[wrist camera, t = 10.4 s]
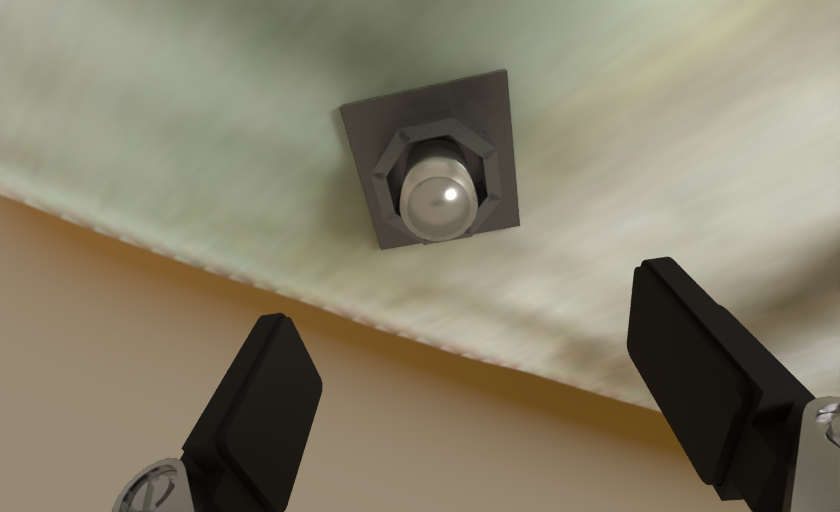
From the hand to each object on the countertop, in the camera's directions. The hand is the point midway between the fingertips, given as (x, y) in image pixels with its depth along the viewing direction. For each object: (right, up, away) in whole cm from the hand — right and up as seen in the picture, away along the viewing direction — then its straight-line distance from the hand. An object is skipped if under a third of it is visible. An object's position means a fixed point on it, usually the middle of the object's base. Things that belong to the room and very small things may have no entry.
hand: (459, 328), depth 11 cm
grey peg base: (0, +8, +15) cm, 17 cm away
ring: (0, +8, +14) cm, 16 cm away
